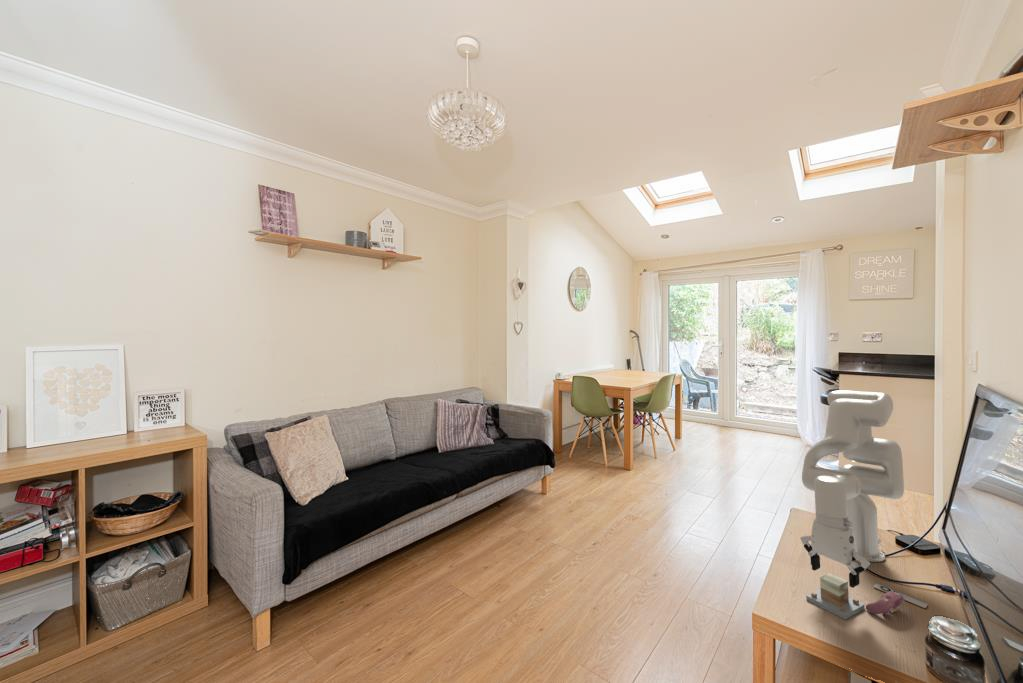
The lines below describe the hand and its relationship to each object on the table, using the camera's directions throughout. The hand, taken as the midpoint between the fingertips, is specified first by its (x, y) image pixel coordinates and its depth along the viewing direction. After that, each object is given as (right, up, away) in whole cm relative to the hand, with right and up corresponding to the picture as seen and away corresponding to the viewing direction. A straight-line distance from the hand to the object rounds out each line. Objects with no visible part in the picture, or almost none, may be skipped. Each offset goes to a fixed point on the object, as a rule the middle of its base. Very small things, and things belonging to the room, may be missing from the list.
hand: (834, 577), depth 119 cm
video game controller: (+11, -8, -4) cm, 14 cm away
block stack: (0, -6, 0) cm, 6 cm away
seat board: (0, -8, -1) cm, 8 cm away
